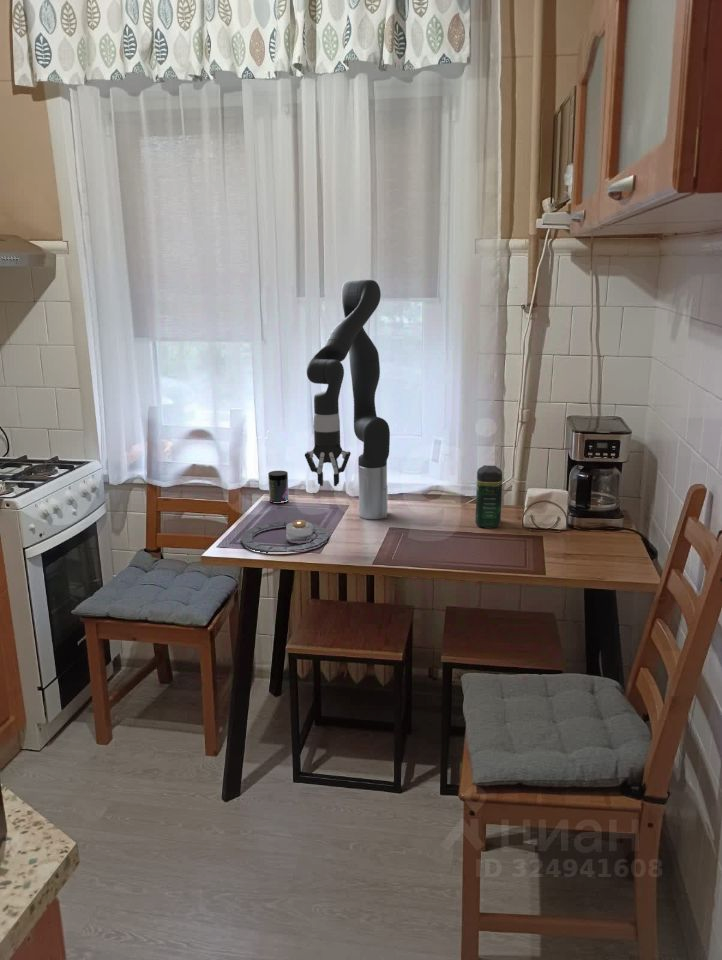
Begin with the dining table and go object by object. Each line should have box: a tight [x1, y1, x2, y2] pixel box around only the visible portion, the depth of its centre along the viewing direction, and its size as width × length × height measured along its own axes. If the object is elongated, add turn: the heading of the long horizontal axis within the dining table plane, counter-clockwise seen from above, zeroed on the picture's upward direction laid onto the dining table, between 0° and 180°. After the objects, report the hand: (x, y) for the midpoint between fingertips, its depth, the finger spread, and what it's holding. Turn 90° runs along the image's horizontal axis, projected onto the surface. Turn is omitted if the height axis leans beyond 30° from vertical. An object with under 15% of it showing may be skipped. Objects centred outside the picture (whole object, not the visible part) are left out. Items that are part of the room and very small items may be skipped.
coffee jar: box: [475, 464, 503, 529], centre depth 247 cm, size 10×8×19 cm
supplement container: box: [267, 470, 289, 502], centre depth 275 cm, size 7×7×10 cm
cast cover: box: [285, 519, 314, 541], centre depth 238 cm, size 8×8×6 cm
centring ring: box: [240, 521, 330, 553], centre depth 239 cm, size 26×26×1 cm
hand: (328, 485), depth 233 cm, fingers open, 3 cm apart
